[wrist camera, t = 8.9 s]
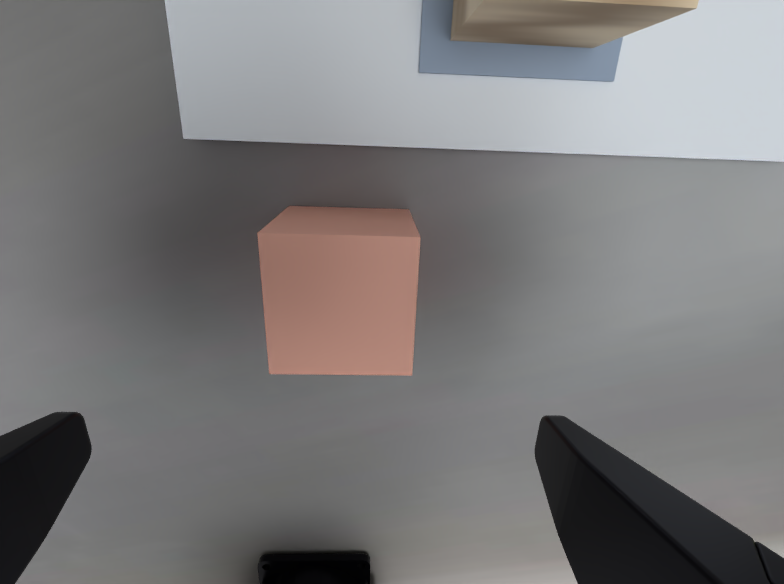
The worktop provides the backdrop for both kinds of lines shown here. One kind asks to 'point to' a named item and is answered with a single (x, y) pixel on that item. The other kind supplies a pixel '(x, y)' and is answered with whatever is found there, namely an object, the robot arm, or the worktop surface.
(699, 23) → the blueprint board
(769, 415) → the worktop surface
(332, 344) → the coral block
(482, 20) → the maple block
